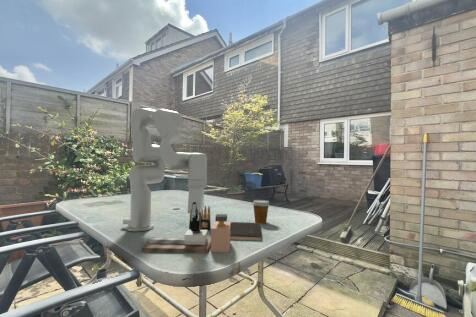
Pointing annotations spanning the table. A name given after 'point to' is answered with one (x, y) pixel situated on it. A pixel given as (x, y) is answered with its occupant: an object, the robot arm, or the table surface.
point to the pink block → (220, 237)
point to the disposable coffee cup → (260, 210)
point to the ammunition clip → (203, 220)
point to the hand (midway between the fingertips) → (196, 228)
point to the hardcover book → (245, 231)
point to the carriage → (196, 236)
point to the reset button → (221, 219)
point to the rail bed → (174, 246)
